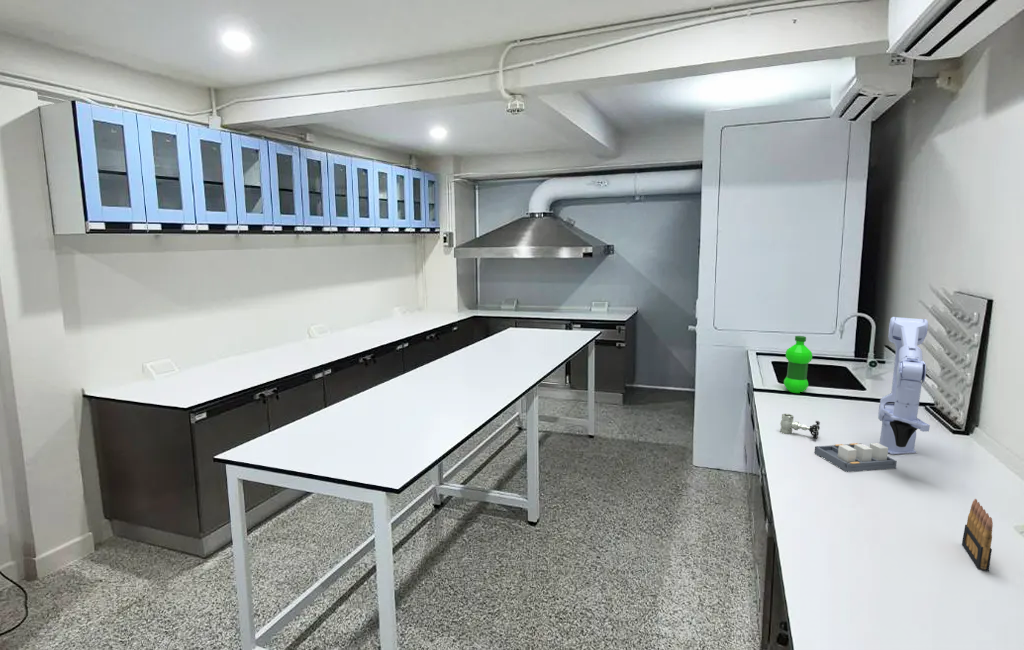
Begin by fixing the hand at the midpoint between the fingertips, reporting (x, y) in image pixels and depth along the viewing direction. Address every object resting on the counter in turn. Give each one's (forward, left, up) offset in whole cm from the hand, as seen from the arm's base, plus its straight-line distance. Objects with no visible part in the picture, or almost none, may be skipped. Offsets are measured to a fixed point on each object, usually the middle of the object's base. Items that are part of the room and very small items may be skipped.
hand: (900, 446), depth 164 cm
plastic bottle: (-26, -81, -9) cm, 85 cm away
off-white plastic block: (+11, -8, -7) cm, 15 cm away
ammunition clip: (+18, +40, -9) cm, 45 cm away
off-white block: (+5, -8, -7) cm, 12 cm away
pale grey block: (0, -8, -7) cm, 11 cm away
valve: (+8, -33, -9) cm, 35 cm away
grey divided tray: (+5, -11, -9) cm, 15 cm away
